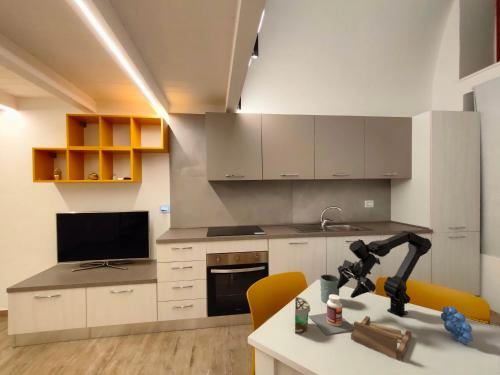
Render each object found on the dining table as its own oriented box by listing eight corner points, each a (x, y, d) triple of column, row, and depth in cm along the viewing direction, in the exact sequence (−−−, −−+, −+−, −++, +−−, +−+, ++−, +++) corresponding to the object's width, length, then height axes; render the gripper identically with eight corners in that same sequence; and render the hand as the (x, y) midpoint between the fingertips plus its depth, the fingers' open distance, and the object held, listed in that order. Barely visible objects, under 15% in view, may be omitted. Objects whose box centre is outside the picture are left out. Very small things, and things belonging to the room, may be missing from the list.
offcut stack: (369, 326, 100) (369, 321, 100) (402, 336, 94) (402, 330, 94) (366, 334, 95) (366, 328, 95) (402, 345, 88) (402, 339, 88)
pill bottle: (338, 328, 97) (338, 301, 97) (324, 322, 101) (324, 296, 101) (344, 322, 102) (344, 296, 102) (330, 316, 106) (330, 292, 106)
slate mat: (335, 312, 111) (335, 311, 111) (356, 329, 97) (356, 328, 97) (308, 316, 107) (308, 315, 107) (326, 335, 93) (326, 334, 93)
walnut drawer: (366, 320, 104) (366, 304, 104) (411, 336, 93) (411, 318, 93) (350, 339, 91) (350, 321, 91) (400, 361, 79) (400, 340, 79)
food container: (311, 337, 92) (311, 311, 92) (294, 335, 93) (295, 310, 93) (309, 320, 104) (309, 297, 104) (295, 318, 105) (295, 296, 105)
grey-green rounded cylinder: (323, 294, 129) (323, 272, 129) (342, 300, 123) (343, 276, 123) (317, 301, 121) (317, 278, 121) (337, 307, 115) (337, 283, 115)
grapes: (432, 331, 96) (432, 302, 96) (446, 330, 97) (446, 300, 97) (462, 351, 85) (462, 317, 85) (477, 349, 86) (477, 315, 86)
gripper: (340, 248, 114) (320, 273, 111) (369, 259, 96) (346, 290, 93) (354, 263, 116) (335, 288, 113) (385, 277, 98) (363, 307, 95)
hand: (344, 292), depth 104 cm, fingers open, 9 cm apart
